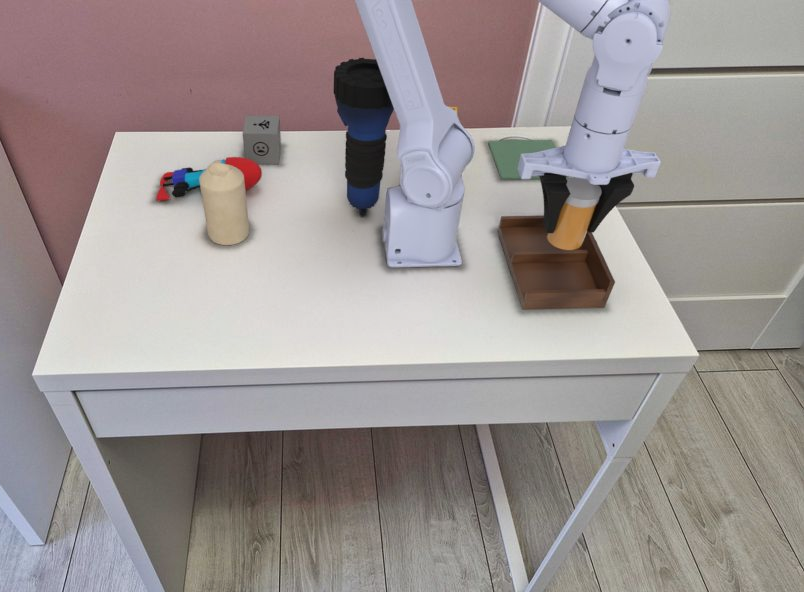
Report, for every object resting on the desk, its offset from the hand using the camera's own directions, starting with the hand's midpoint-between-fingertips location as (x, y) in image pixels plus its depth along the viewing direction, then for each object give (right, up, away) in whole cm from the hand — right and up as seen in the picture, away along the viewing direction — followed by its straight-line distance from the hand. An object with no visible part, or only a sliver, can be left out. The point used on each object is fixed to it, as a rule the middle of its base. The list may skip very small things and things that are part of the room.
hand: (568, 227), depth 80 cm
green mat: (+2, +15, +25) cm, 29 cm away
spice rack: (0, -4, +8) cm, 9 cm away
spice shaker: (0, -1, +1) cm, 2 cm away
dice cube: (-38, +15, +25) cm, 48 cm away
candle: (-41, +1, +13) cm, 43 cm away
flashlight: (-23, +5, +16) cm, 29 cm away
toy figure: (-45, +9, +19) cm, 49 cm away
